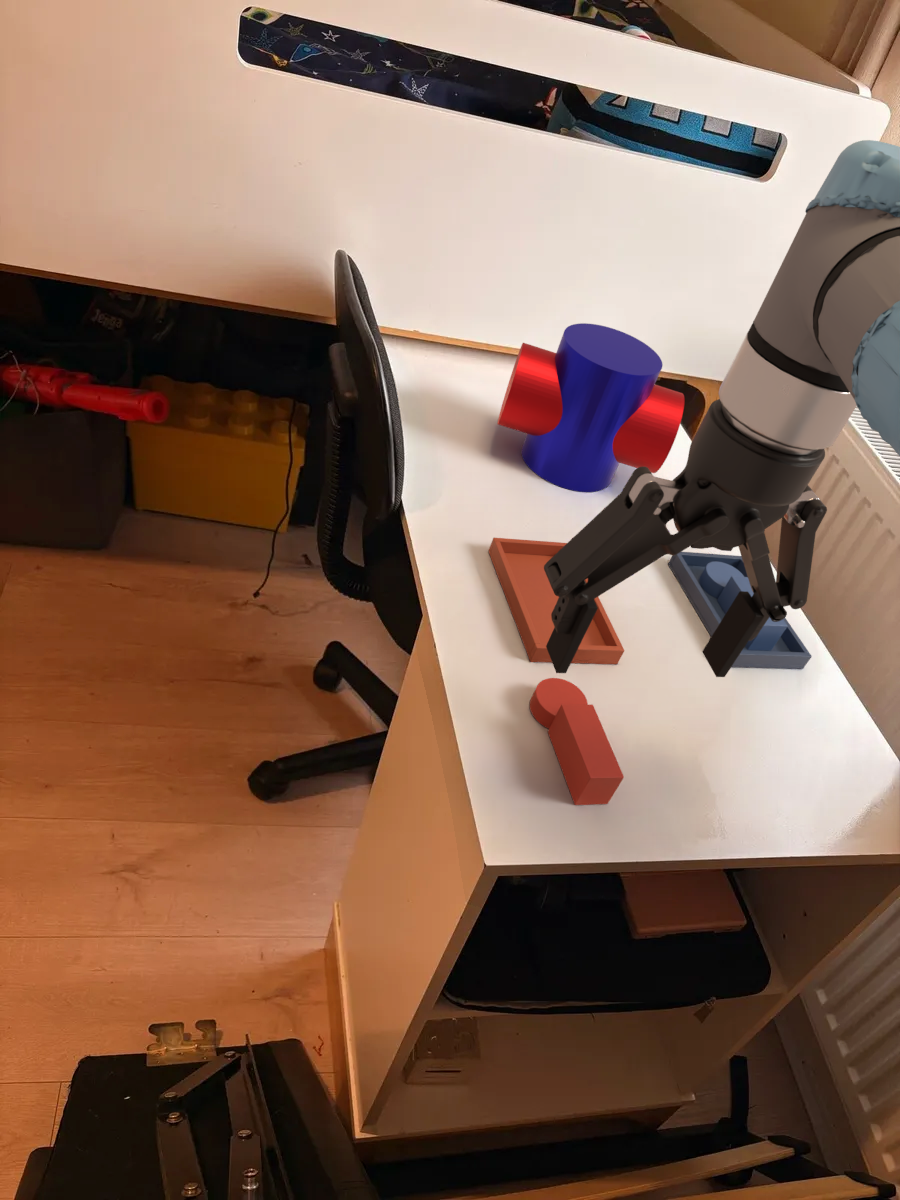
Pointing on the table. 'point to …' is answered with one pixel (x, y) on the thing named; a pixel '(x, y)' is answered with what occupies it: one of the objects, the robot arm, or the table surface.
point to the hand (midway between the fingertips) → (636, 662)
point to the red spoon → (577, 741)
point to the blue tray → (688, 572)
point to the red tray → (546, 602)
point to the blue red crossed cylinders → (591, 407)
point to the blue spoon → (725, 588)
